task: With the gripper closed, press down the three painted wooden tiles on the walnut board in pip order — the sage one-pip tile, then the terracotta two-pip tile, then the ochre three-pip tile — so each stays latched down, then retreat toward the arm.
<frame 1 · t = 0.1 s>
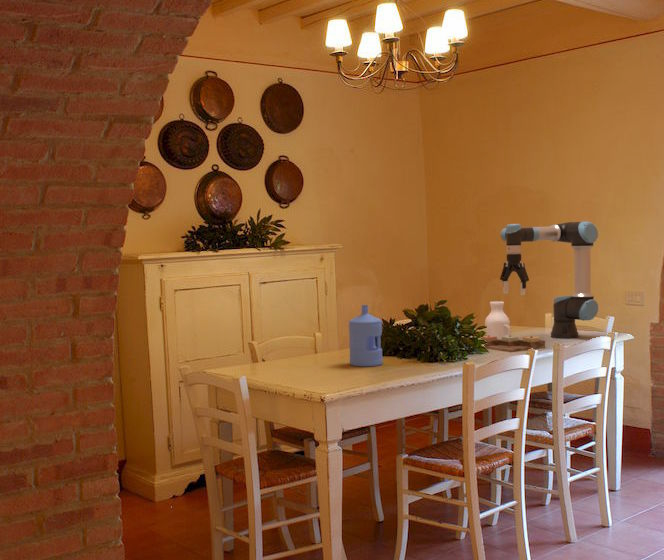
hand: (514, 294, 443), 28 cm above the table, fingers open, 13 cm apart
tile one: (509, 339, 445), point 4 cm above the table, slide at 0.0 cm
mug: (501, 340, 473), on the table
tile three: (531, 339, 441), point 4 cm above the table, slide at 0.0 cm
board: (510, 347, 445), on the table
water jug: (366, 364, 401), on the table
vase: (497, 336, 491), on the table
tile two: (488, 338, 449), point 4 cm above the table, slide at 0.0 cm
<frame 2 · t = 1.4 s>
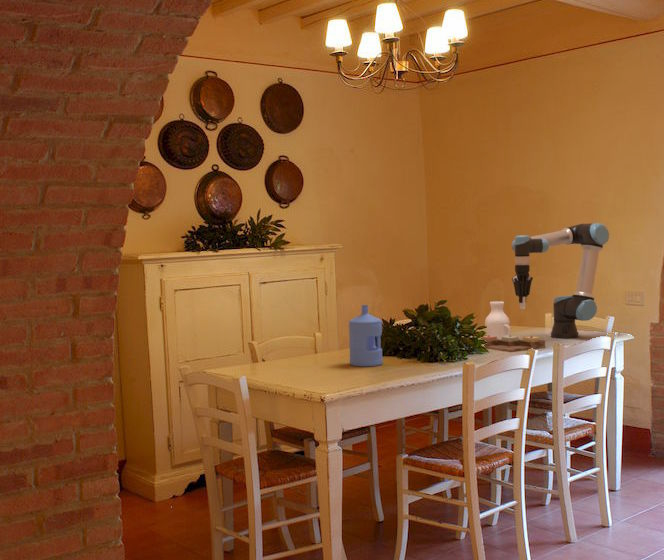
hand: (522, 308, 450), 19 cm above the table, fingers closed
nothing on the table moved.
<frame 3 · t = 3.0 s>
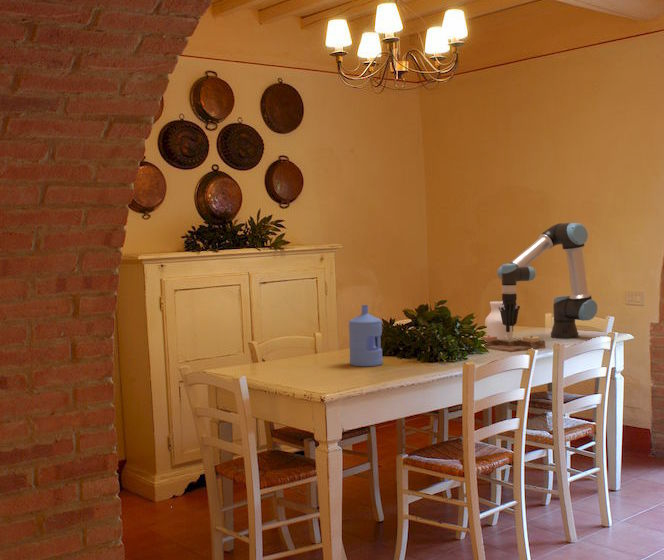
hand: (509, 338, 445), 5 cm above the table, fingers closed
tile one: (509, 341, 445), point 3 cm above the table, slide at 1.1 cm, touching gripper
everything else where it was.
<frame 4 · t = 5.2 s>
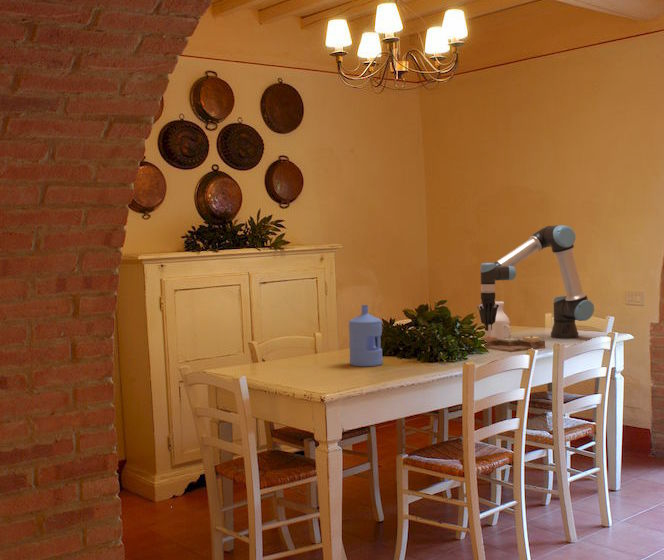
hand: (488, 336, 449), 5 cm above the table, fingers closed
tile one: (509, 341, 445), point 3 cm above the table, slide at 1.2 cm
tile two: (488, 339, 449), point 4 cm above the table, slide at 0.5 cm, touching gripper
everything else where it was.
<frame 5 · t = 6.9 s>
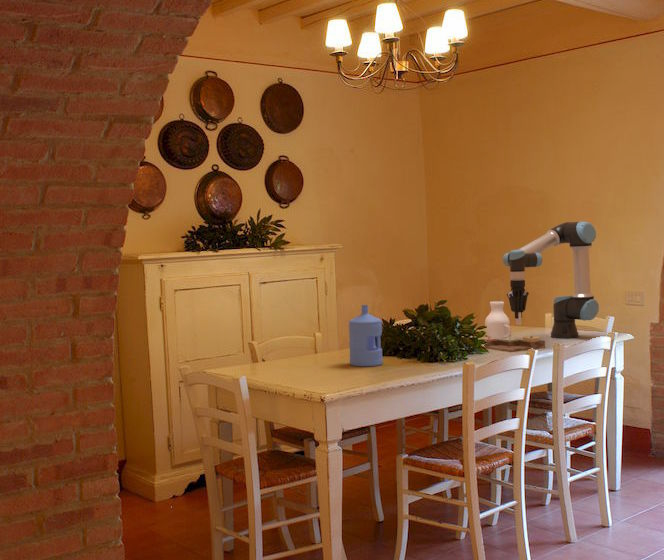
hand: (518, 324, 443), 12 cm above the table, fingers closed
tile two: (488, 340, 449), point 3 cm above the table, slide at 1.1 cm
everything else where it was.
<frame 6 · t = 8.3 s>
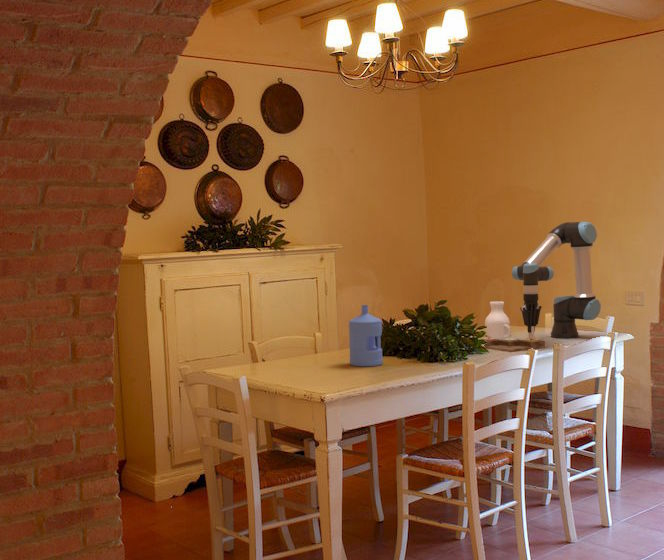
hand: (531, 338, 441), 5 cm above the table, fingers closed
tile three: (531, 341, 441), point 3 cm above the table, slide at 1.1 cm, touching gripper
everything else where it was.
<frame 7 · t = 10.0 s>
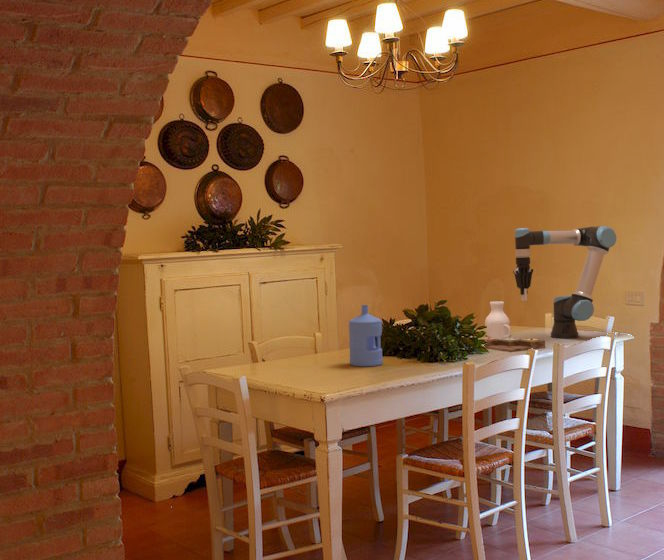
hand: (524, 300, 456), 23 cm above the table, fingers closed
tile three: (531, 341, 441), point 3 cm above the table, slide at 1.2 cm
everything else where it was.
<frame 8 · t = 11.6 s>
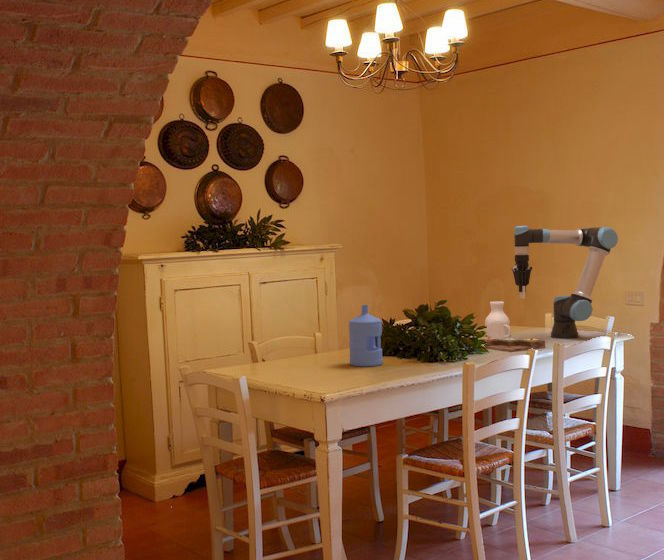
hand: (522, 298, 458), 24 cm above the table, fingers closed
nothing on the table moved.
at the end: tile one slide at 1.2 cm; tile two slide at 1.1 cm; tile three slide at 1.2 cm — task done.
